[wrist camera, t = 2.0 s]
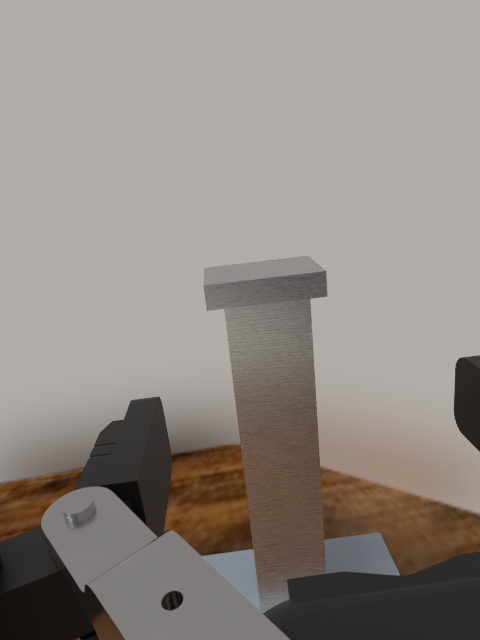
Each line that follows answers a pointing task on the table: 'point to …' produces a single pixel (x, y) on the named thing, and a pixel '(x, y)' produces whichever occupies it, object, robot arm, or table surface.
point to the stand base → (339, 556)
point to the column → (276, 411)
